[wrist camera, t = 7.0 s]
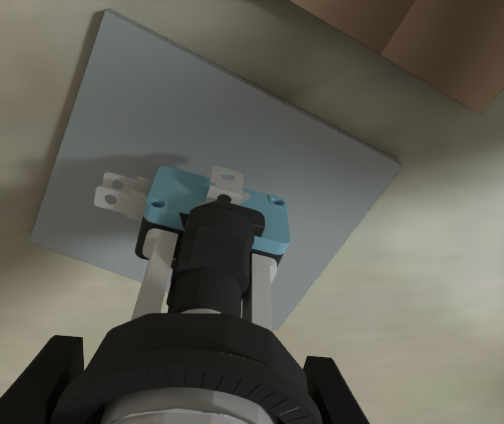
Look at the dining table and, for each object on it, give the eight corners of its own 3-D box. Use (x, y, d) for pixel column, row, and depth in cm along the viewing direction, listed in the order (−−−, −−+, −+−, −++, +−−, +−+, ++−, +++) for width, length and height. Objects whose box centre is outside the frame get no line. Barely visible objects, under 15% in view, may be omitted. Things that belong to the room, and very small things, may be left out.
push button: (98, 228, 17) (-52, 536, 8) (119, 100, 14) (-76, 378, 6) (262, 269, 18) (271, 574, 10) (313, 159, 15) (388, 459, 7)
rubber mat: (398, 160, 18) (402, 165, 17) (276, 323, 22) (277, 330, 22) (109, 8, 14) (105, 10, 14) (33, 235, 19) (28, 241, 18)
